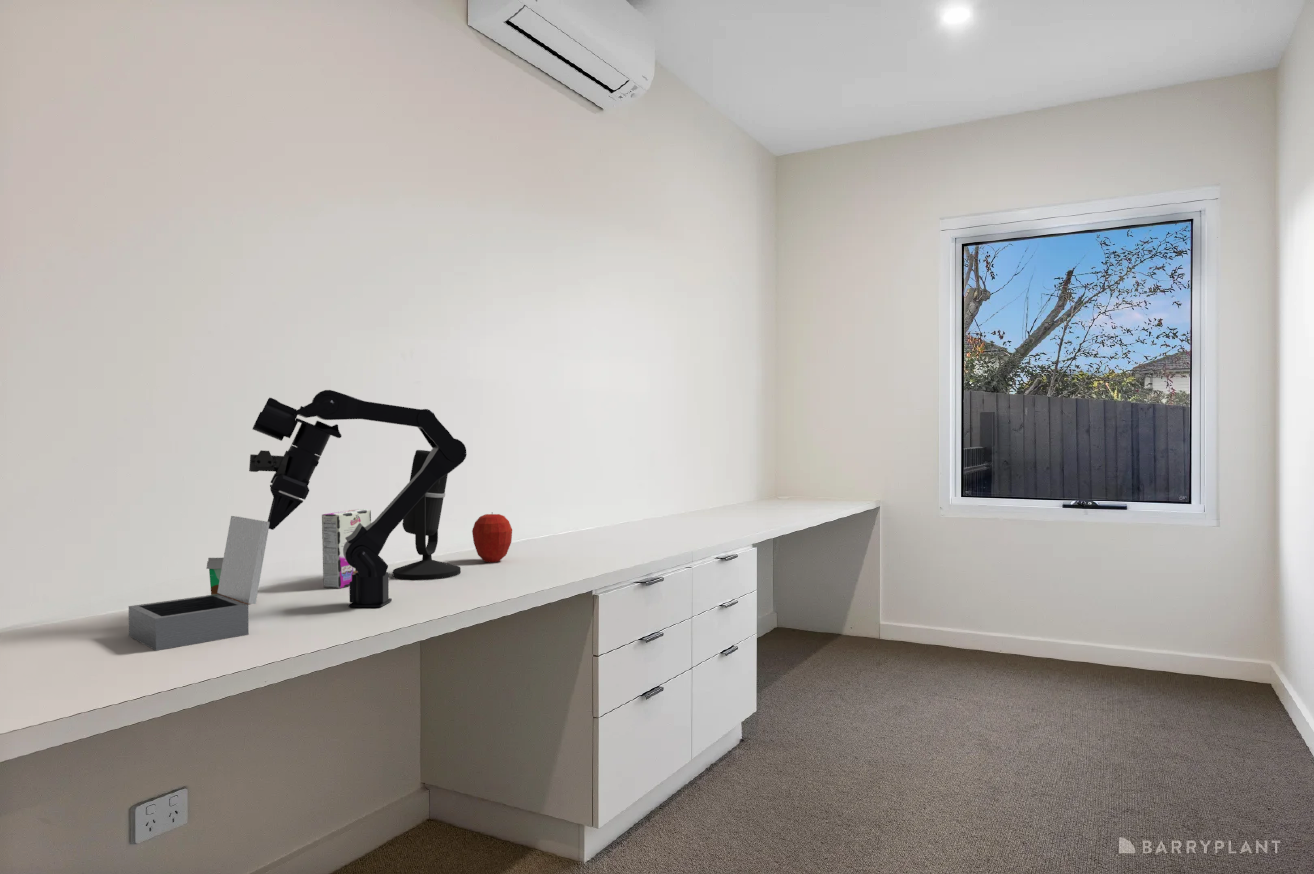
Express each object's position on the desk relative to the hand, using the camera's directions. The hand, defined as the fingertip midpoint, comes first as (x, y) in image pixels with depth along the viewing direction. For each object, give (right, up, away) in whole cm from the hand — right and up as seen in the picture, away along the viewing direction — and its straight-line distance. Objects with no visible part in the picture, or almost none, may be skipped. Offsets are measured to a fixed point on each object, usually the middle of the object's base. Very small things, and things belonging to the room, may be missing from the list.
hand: (269, 526), depth 156 cm
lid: (0, -4, -11) cm, 11 cm away
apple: (+30, -16, +62) cm, 71 cm away
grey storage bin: (-6, -17, -17) cm, 24 cm away
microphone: (+18, -16, +43) cm, 49 cm away
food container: (-10, -17, +9) cm, 21 cm away
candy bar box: (+3, -16, +30) cm, 35 cm away
